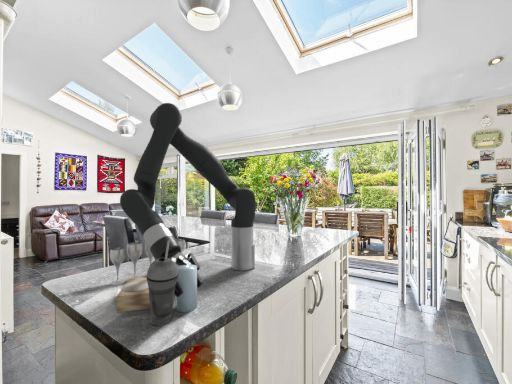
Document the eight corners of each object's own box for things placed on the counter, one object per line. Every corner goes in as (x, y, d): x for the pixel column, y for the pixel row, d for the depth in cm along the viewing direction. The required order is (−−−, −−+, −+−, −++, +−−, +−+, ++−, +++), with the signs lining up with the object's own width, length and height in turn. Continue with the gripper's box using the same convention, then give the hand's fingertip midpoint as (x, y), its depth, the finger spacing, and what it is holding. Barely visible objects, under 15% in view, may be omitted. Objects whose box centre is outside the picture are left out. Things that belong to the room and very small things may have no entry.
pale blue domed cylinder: (196, 302, 72) (196, 263, 72) (197, 310, 67) (197, 269, 67) (177, 304, 71) (177, 265, 71) (176, 313, 66) (175, 271, 66)
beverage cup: (151, 311, 65) (152, 235, 63) (179, 311, 66) (182, 236, 64) (140, 329, 58) (141, 245, 56) (172, 329, 58) (175, 246, 56)
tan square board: (168, 288, 83) (168, 274, 83) (164, 306, 70) (164, 290, 70) (129, 292, 80) (129, 277, 80) (116, 312, 67) (116, 295, 67)
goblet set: (112, 286, 85) (111, 247, 85) (108, 282, 90) (108, 244, 90) (188, 269, 104) (188, 237, 104) (182, 266, 108) (182, 235, 108)
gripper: (145, 238, 67) (177, 291, 61) (186, 231, 79) (215, 274, 73) (133, 256, 69) (162, 308, 63) (174, 246, 82) (202, 289, 76)
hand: (190, 290), depth 68 cm, fingers open, 7 cm apart
